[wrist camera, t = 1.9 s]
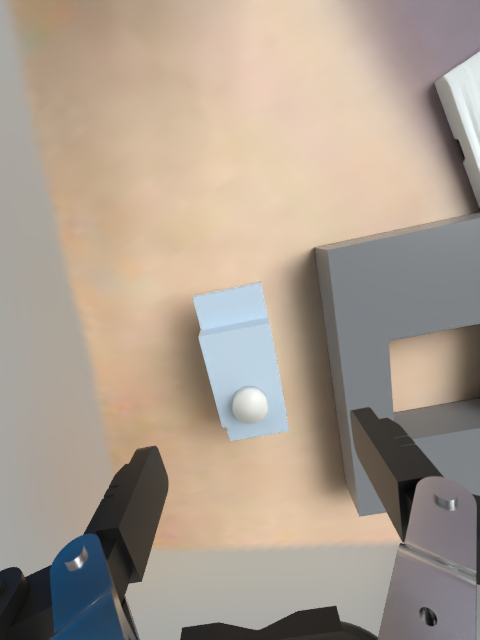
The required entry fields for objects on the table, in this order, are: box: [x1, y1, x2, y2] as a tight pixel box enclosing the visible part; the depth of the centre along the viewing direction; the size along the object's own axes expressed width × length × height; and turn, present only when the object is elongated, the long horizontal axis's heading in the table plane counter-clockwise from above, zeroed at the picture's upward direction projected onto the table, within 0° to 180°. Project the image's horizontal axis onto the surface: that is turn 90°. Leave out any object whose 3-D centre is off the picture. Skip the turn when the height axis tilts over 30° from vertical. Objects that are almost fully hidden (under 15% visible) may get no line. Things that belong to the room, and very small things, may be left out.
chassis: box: [315, 212, 480, 516], centre depth 20 cm, size 20×14×3 cm
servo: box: [193, 282, 289, 441], centre depth 19 cm, size 10×4×6 cm, turn 12°
